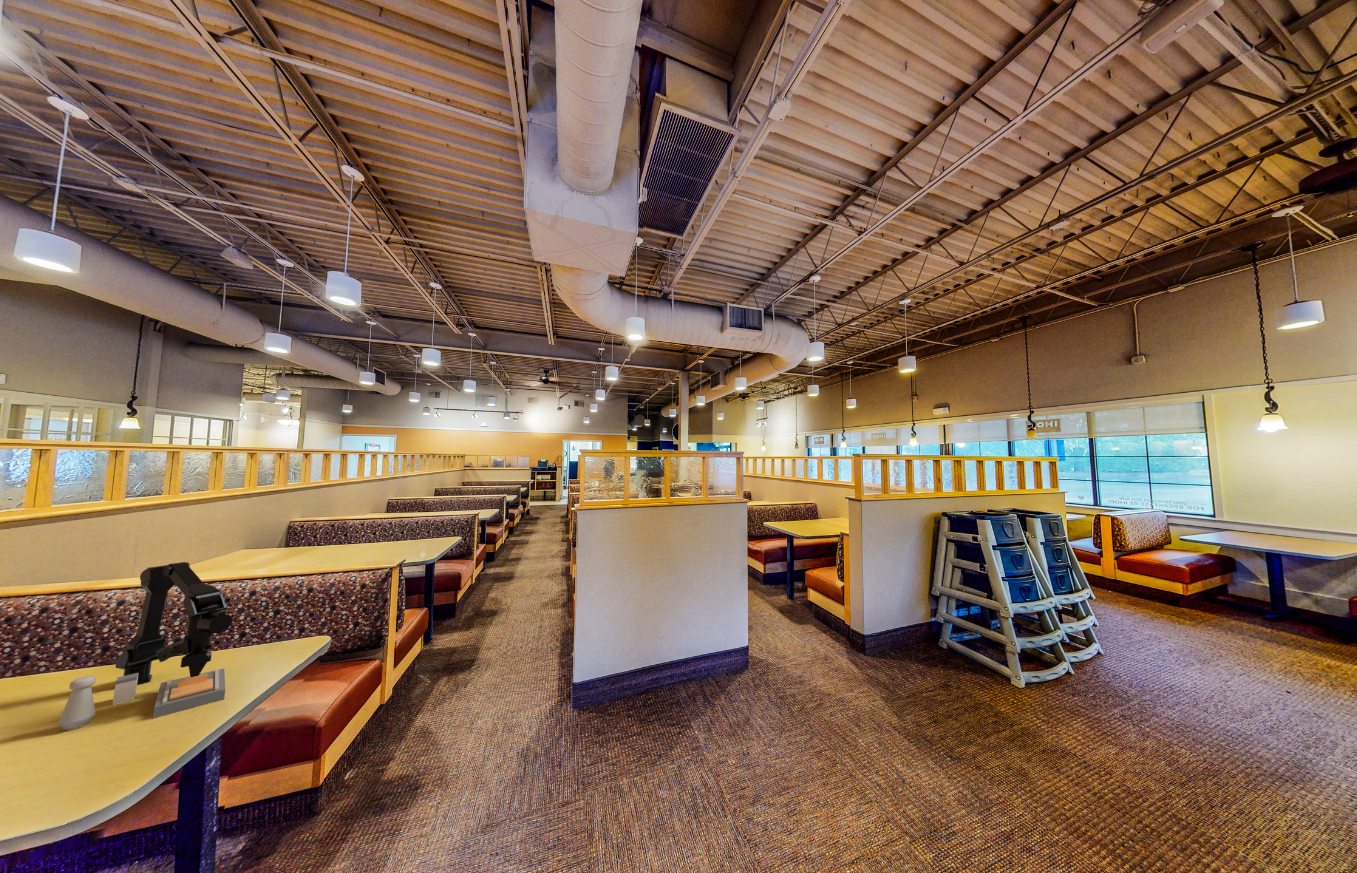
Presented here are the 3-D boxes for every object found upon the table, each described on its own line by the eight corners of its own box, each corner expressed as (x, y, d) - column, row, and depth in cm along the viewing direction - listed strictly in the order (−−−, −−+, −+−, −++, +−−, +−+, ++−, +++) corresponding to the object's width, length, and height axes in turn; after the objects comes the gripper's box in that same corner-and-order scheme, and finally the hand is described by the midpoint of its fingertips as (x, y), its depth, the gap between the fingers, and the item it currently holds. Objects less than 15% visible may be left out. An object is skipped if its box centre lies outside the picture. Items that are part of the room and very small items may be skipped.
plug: (114, 700, 129) (117, 677, 129) (135, 695, 132) (138, 672, 132) (112, 705, 126) (115, 681, 127) (133, 699, 129) (137, 676, 130)
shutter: (171, 690, 129) (172, 681, 129) (212, 680, 135) (213, 672, 135) (169, 699, 123) (170, 690, 123) (212, 689, 129) (213, 680, 130)
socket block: (159, 692, 133) (161, 680, 134) (223, 677, 144) (224, 666, 144) (152, 718, 119) (154, 705, 119) (224, 699, 129) (225, 687, 130)
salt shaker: (65, 733, 112) (73, 683, 113) (51, 731, 113) (59, 681, 114) (99, 721, 117) (106, 674, 119) (85, 719, 119) (92, 672, 120)
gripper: (162, 629, 134) (156, 679, 133) (157, 644, 122) (150, 699, 120) (213, 621, 143) (208, 667, 141) (213, 634, 130) (207, 685, 129)
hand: (193, 679), depth 133 cm, fingers closed
